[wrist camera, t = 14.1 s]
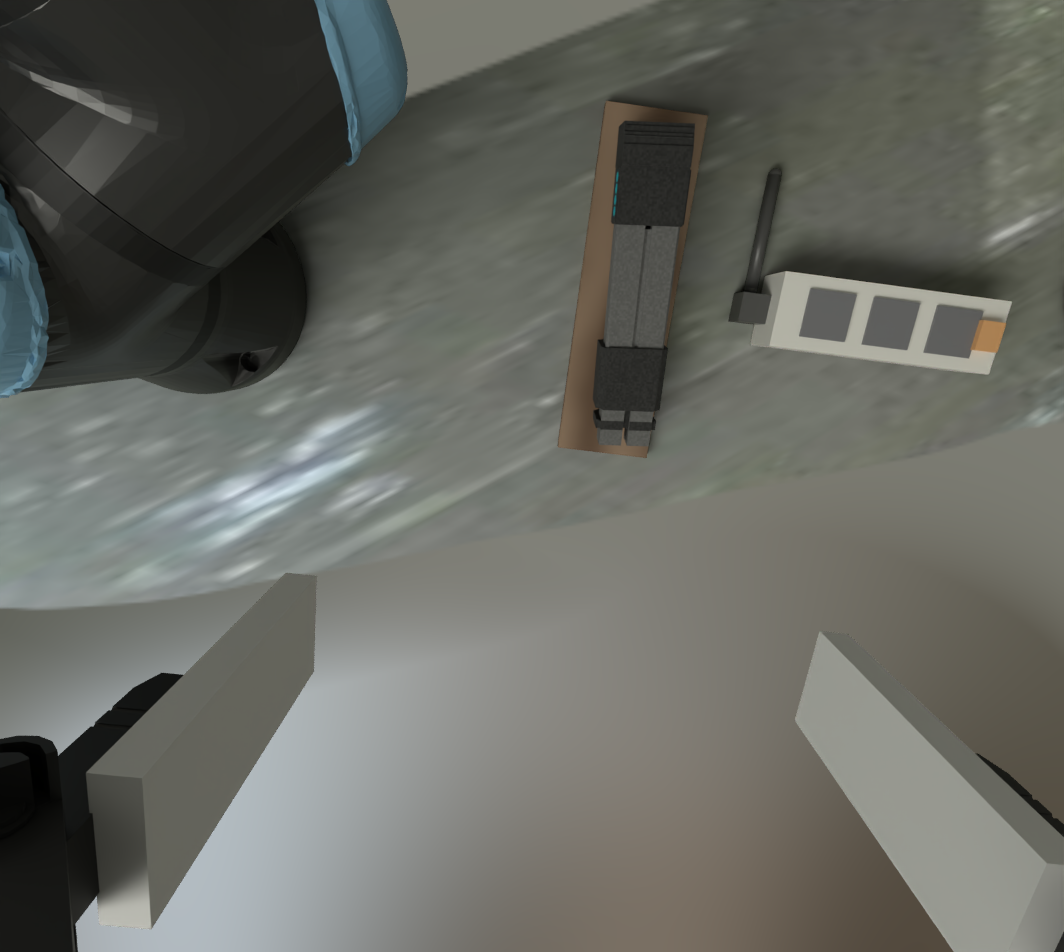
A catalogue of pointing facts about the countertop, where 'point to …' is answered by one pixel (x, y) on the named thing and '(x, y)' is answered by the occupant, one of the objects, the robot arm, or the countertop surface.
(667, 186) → the gun
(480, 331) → the countertop surface
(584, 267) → the walnut board
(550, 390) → the countertop surface
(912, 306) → the power strip
